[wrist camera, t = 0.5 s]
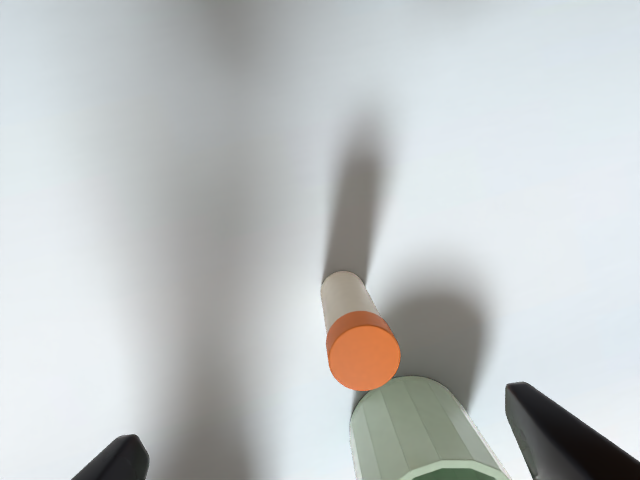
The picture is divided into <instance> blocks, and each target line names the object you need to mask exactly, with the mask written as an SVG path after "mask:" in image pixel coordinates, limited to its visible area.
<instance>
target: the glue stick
mask: <svg viewBox="0 0 640 480" xmlns="http://www.w3.org/2000/svg"><path fill="white" fill-rule="evenodd" d="M321 300H322V307H323V313H324V320H325V326H326V333H327V339H326V348H327V355H328V362H329V367H330V370H331V372H332V374H333V376H334V377H335V379H336V380H337V381H338V382H340V383H341V384H342V385H344V386H345V387H347V388H350V389H353V390H357V391H368V390H373V389H376V388H379V387H381V386H382V385H384V384H386V383H387V382H388V381H389V380H390V379H391V378H392V377H393V376H394V375H395V373H396V371H397V369H398V367H399V364H400V357H401V354H400V348H399V345H398V342H397V340H396V339H395V337H394V335H393V333H392V331H391V330H390V328H389V326H388V324H387V323H386V322H385V321H384V320H383V319H382V318H381V316H380V314H379V312H378V310H377V308H376V306H375V305H374V303H373V301H372V299H371V297H370V295H369V293H368V292H367V290H366V288H365V286H364V284H363V282H362V281H361V279H360V278H359V277H358V276H357V275H355V274H354V273H351V272H348V271H338V272H335V273H333V274H331V275H330V276H328V277H327V278H326V279H325V281H324V282H323V284H322V287H321Z"/></svg>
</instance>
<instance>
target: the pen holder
mask: <svg viewBox="0 0 640 480" xmlns="http://www.w3.org/2000/svg"><path fill="white" fill-rule="evenodd" d="M350 446H351V452H352V458H353V463H354V469H355V475H356V480H512V478H511V477H510V476H509V474H508V473H507V471H506V470H505V468H504V467H503V465H502V464H501V462H500V461H499V459H498V458H497V456H496V455H495V453H494V452H493V450H492V449H491V448H490V446H489V445H488V443H487V442H486V440H485V439H484V437H483V436H482V434H481V433H480V431H479V430H478V428H477V427H476V425H475V424H474V422H473V421H472V420H471V418H470V417H469V415H468V414H467V412H466V411H465V409H464V408H463V406H462V405H461V403H460V402H459V401H458V400H457V399H456V398H455V396H454V395H453V394H452V393H451V392H450V391H449V390H448V389H447V388H446V387H445V386H443V385H442V384H440V383H438V382H436V381H434V380H431V379H429V378H425V377H420V376H403V377H397V378H393V379H390V380H389V381H388V382H387V383H386V384H384V385H382V386H381V387H379V388H376V389H373V390H370V391H369V392H368V393H367V394H366V395H365V396H364V397H363V398H362V399H361V400H360V401H359V403H358V405H357V406H356V408H355V410H354V412H353V414H352V418H351V421H350Z"/></svg>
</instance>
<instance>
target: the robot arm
mask: <svg viewBox="0 0 640 480" xmlns="http://www.w3.org/2000/svg"><path fill="white" fill-rule="evenodd" d="M505 411H506V416H507V419H508V422H509V424H510V426H511V429H512V431H513V433H514V436H515V438H516V440H517V443H518V445H519V447H520V450H521V452H522V454H523V457H524V459H525V462H526V464H527V466H528V469H529V471H530V473H531V476H532V478H533V480H640V462H639V461H638V460H636V459H635V458H634V457H632V456H631V455H629V454H628V453H626V452H625V451H624V450H622V449H621V448H619V447H618V446H616V445H615V444H614V443H612V442H611V441H609V440H608V439H607V438H605V437H604V436H602V435H601V434H599V433H598V432H597V431H595V430H594V429H592V428H591V427H589V426H588V425H587V424H585V423H584V422H582V421H581V420H580V419H578V418H577V417H575V416H574V415H572V414H571V413H570V412H568V411H567V410H565V409H564V408H562V407H561V406H560V405H558V404H557V403H555V402H554V401H553V400H551V399H550V398H548V397H547V396H545V395H544V394H543V393H541V392H540V391H538V390H537V389H535V388H534V387H533V386H531V385H530V384H528V383H526V382H516V383H509V384H507V385H506V388H505ZM148 468H149V455H148V453H147V451H146V449H145V448H144V446H143V444H142V442H141V441H140V439H139V437H138V436H137V435H135V434H131V435H123V436H120V437H118V438H116V439H115V440H114V441H113V442H112V443H110V444H109V445H108V446H107V447H106V448H105V449H104V450H103V451H102V452H101V453H100V454H98V455H97V456H96V457H95V458H94V459H93V460H92V461H91V462H90V463H89V464H88V465H87V466H85V467H84V468H83V469H82V470H81V471H80V472H79V473H78V474H77V475H76V476H75V477H73V478H72V479H71V480H145V479H146V475H147V471H148Z"/></svg>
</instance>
